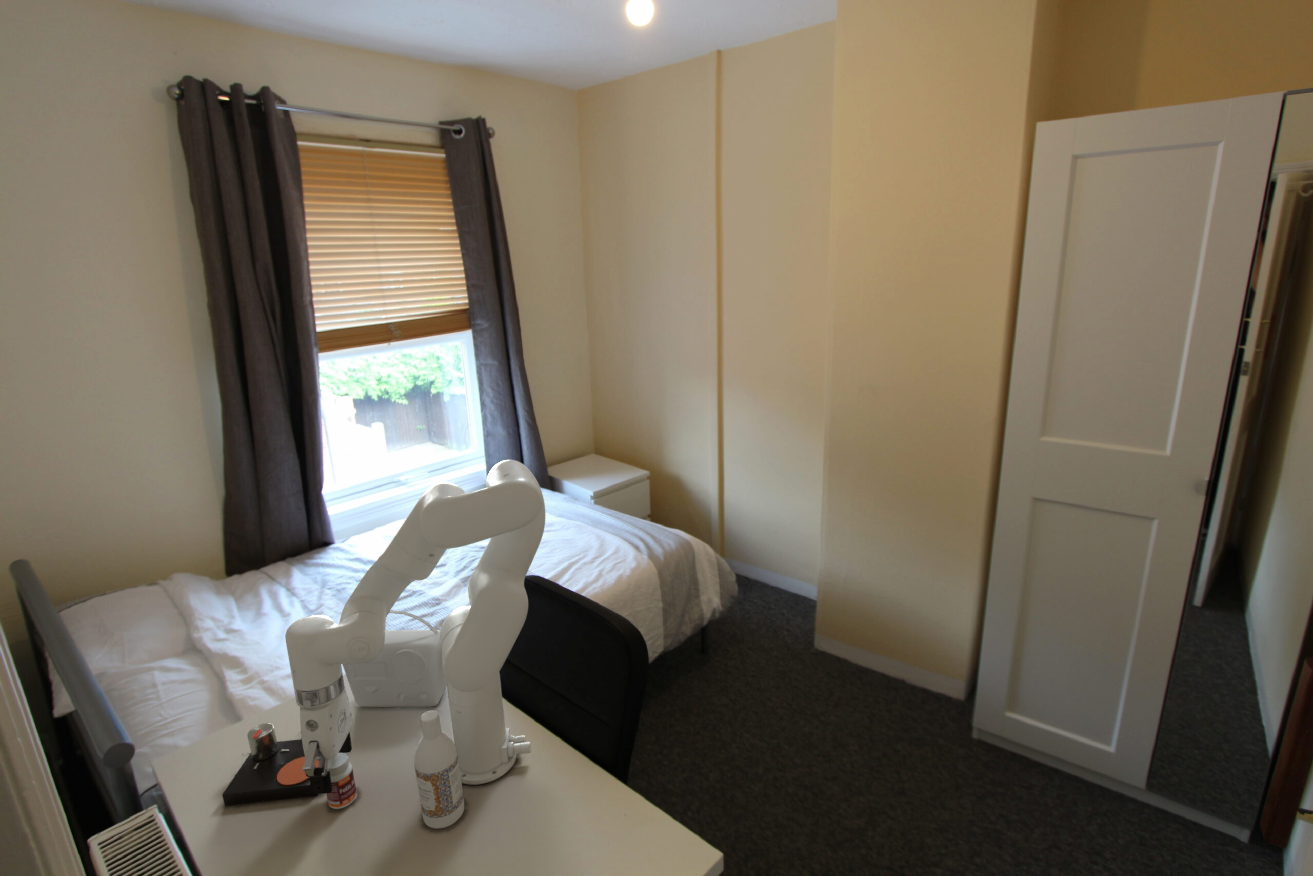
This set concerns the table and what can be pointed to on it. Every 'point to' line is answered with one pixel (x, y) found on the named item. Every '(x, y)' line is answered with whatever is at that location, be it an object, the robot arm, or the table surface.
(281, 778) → the burner ring
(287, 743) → the hob
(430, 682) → the radio
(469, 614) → the robot arm
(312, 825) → the table surface
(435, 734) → the bath foam
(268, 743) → the hob knob
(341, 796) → the pill bottle
